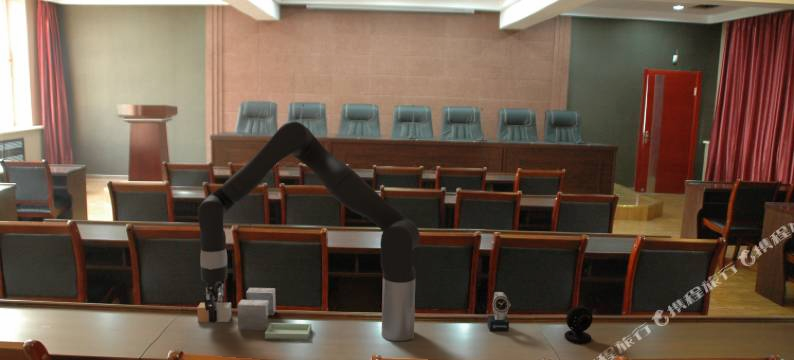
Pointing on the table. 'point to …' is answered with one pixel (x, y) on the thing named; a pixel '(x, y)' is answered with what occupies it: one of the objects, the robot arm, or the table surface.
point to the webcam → (579, 325)
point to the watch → (499, 313)
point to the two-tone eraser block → (222, 312)
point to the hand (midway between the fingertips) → (215, 318)
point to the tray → (288, 331)
